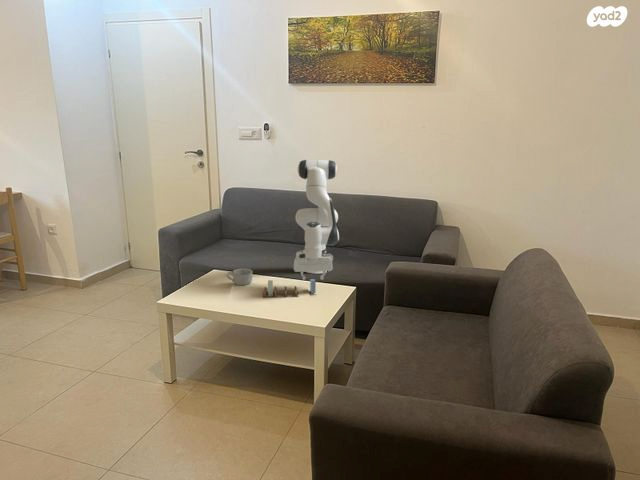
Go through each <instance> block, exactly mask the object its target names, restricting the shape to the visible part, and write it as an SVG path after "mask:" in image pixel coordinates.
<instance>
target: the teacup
mask: <svg viewBox="0 0 640 480" xmlns="http://www.w3.org/2000/svg"><path fill="white" fill-rule="evenodd" d="M230 274H231V276H232V277H230ZM226 277H227V278H228V280H230V281H231V282H232V283H233V284H235V285H237V286H247V285H251V283H252V282H253V270H251V269H249V268H237V269H234V270H233V271H228V272H227V274H226Z"/></svg>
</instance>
